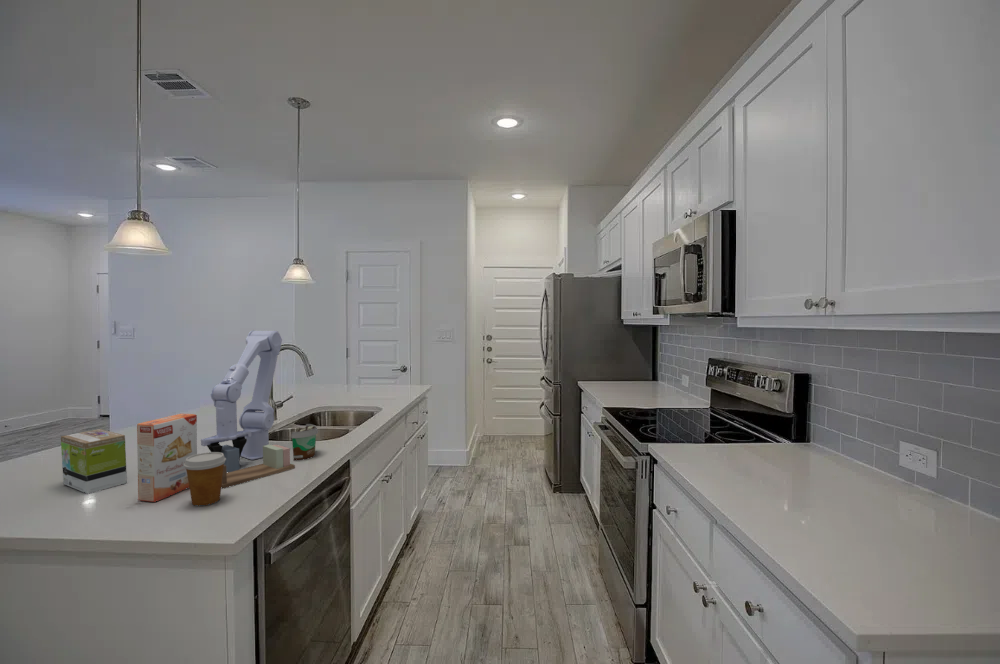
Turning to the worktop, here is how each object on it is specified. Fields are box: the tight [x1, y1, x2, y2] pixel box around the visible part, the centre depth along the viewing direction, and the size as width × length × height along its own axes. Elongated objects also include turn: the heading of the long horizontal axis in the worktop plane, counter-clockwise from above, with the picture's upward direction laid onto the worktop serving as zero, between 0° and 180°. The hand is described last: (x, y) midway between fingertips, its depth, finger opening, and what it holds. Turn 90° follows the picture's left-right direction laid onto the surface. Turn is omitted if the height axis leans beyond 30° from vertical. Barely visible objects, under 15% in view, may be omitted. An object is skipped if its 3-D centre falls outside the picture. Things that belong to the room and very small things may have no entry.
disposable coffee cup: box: [184, 451, 226, 507], centre depth 127 cm, size 10×10×12 cm
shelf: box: [221, 463, 296, 489], centre depth 148 cm, size 10×22×6 cm, turn 145°
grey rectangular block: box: [221, 444, 241, 472], centre depth 153 cm, size 8×4×7 cm, turn 55°
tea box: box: [60, 428, 128, 495], centre depth 140 cm, size 15×10×15 cm, turn 62°
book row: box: [262, 444, 291, 469], centre depth 155 cm, size 8×4×6 cm, turn 55°
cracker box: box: [136, 413, 198, 503], centre depth 133 cm, size 14×6×21 cm, turn 168°
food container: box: [290, 423, 319, 461], centre depth 167 cm, size 12×6×10 cm, turn 179°
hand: (227, 463), depth 153 cm, fingers open, 5 cm apart
